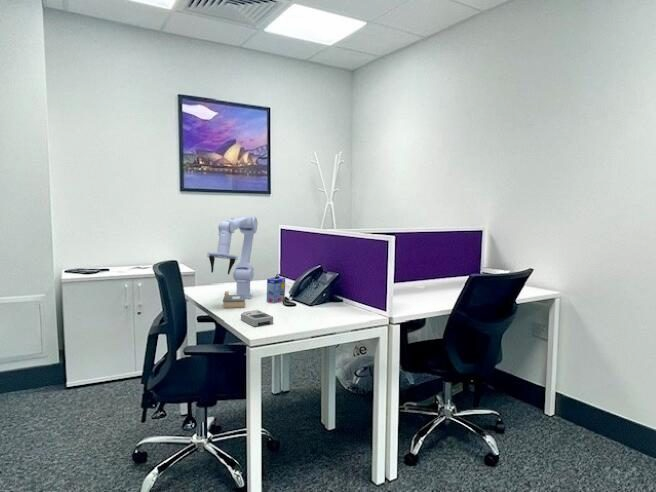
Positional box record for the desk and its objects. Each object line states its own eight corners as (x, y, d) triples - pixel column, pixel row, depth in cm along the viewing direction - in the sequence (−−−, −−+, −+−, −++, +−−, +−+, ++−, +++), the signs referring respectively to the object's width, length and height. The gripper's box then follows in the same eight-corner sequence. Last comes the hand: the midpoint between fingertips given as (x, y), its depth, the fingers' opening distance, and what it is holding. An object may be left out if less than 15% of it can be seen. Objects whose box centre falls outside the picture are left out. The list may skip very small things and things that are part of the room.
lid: (224, 296, 227) (224, 290, 226) (245, 295, 228) (245, 289, 228) (222, 301, 214) (222, 295, 214) (244, 301, 216) (244, 294, 216)
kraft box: (225, 302, 227) (224, 297, 226) (244, 302, 228) (244, 296, 228) (223, 308, 215) (223, 302, 215) (244, 307, 217) (244, 301, 216)
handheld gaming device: (257, 317, 200) (257, 309, 200) (273, 324, 188) (273, 315, 188) (239, 320, 195) (239, 312, 195) (254, 328, 183) (254, 319, 183)
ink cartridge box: (275, 303, 226) (275, 275, 225) (266, 302, 229) (266, 274, 228) (285, 300, 235) (285, 272, 234) (277, 298, 238) (277, 272, 236)
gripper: (208, 242, 211) (204, 270, 208) (239, 245, 213) (235, 273, 210) (209, 245, 217) (205, 272, 214) (239, 248, 220) (235, 275, 217)
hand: (220, 273), depth 213 cm, fingers open, 7 cm apart
